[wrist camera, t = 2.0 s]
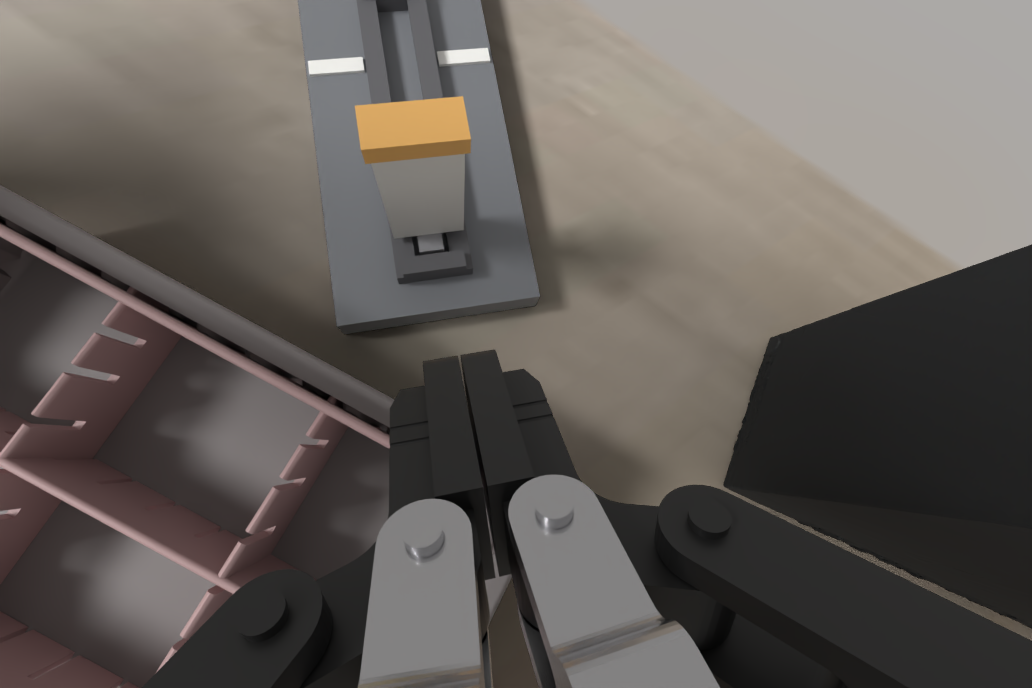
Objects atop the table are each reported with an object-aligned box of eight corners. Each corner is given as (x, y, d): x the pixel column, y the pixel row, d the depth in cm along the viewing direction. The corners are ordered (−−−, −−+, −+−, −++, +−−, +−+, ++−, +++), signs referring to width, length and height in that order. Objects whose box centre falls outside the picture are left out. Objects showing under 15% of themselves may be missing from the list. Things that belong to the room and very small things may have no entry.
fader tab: (469, 253, 30) (474, 156, 20) (395, 263, 30) (363, 168, 20) (459, 199, 31) (459, 79, 21) (387, 207, 30) (352, 88, 20)
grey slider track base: (535, 305, 32) (544, 288, 29) (344, 334, 31) (330, 319, 27) (473, -5, 37) (475, -52, 34) (304, 5, 35) (287, -43, 32)
